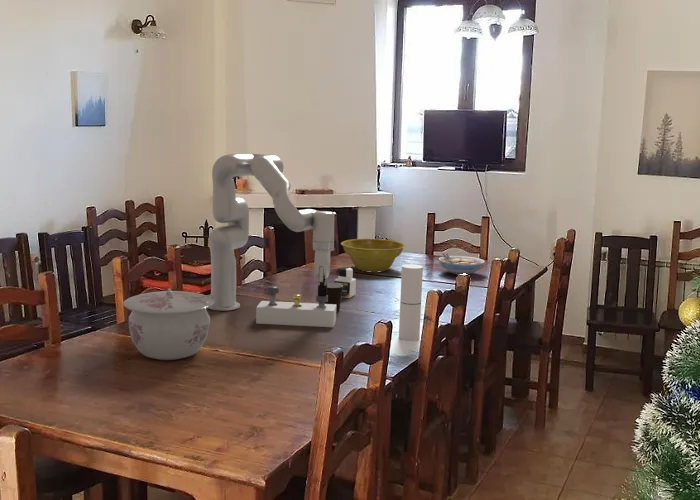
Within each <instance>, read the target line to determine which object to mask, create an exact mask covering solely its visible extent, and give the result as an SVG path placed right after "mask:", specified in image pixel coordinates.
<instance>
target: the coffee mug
mask: <svg viewBox="0 0 700 500" xmlns="http://www.w3.org/2000/svg"><path fill="white" fill-rule="evenodd" d="M326 285H327V295H328V302H325V304H336V313H338V312H339V313H340V309H341V302H342V297H341V296H342V290H343V285H342V284H337V283H334V282H327V284H326Z"/></svg>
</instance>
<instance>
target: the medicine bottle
mask: <svg viewBox="0 0 700 500" xmlns="http://www.w3.org/2000/svg"><path fill="white" fill-rule="evenodd" d="M353 271H354V270H353V268H351V267H343V266H342V267H340V268H339V269H338V271H337V272H338V273H337V275H338V276H337V277H338V278H335V279H334V282H333V283H337V284H342V285H343V290H342V296H341V298H343V299H344V298H346V299H350V298H352V297H354V296H356V293H357V292H356V288H357V279H356V278H354V277H353V275H354V274H353V273H354V272H353Z"/></svg>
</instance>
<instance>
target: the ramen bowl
mask: <svg viewBox="0 0 700 500" xmlns="http://www.w3.org/2000/svg"><path fill="white" fill-rule="evenodd" d="M442 255H443V256H440V257H439V258H438V262H439V263H440V265H441V267H442V268H443V269H445V271H447V272H449V273H452V274H453V273H454V274H463V273H466V274H469V275H471V274H474V273H476V272H478V271H479V270H480V269H482V268H483V266H484V264H485V262H486V261H485V260H484V259H482V258H478V257H474V256H464V255H449V254H448V253H446V254H445V253H442ZM454 274H453V275H454Z"/></svg>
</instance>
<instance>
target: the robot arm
mask: <svg viewBox="0 0 700 500" xmlns="http://www.w3.org/2000/svg"><path fill="white" fill-rule="evenodd" d="M284 167H285V166H284V163H283V161H282V159H281V158H280V157H278V156H277V155H275V154H263V153H262V154H260V153H249V152H247V153H246V152H243V153H228V154H224V155H222V156H220V157H219V158H217V159H216V160H215V162H214V164H213V165H212V170H211V178H212V216H213V219H214V221H216V222H217V223H220V224H227V225H223V226H218V227H216V228H214V229H213V230H212V231H211V232H210V234H209V236H208V245H209V246H208V247H209V251H210V268H211V269H210V287H211V288H210V295H208V296H209V297H211V298H213V299H214V301H215V303H214V304H213V305H212V306H211V307H209V308H208V310H213V311H219V312H220V311H223V312H224V311H225V312H226V311H234V310H238V309H239V308H240V307H241V304H240V302H238V301H237V259H236V256H235V253H234V250H237V249H240V248H243V247H244V246H246V244H247V242H248V240H249V234H250V232H249V230H250V210H249V209H250V208H249V206H248V203H247V201H246V200H245V199H244V198H242V197H240V196H236V184H235V181H234V180H233V178H236V177H246V176H247V177H249V176H254V177H255V179H256V180H257V181H258V182H259V184H260V185H261V186H262V187H263V188H264V190H265V191H266V192H267V193H268V195H269V196H270V197H271V199H272V204H273V207H274V211H275V213H276V215H277V216H278V218H279V219H280V220H281V221H282V223H283V224H284V225H285V226H286V227H287V228H288V229H289V230H291V231H293V232H296V233H299V232H305V231H310V230H312V250H313V251H315V253H314V264H313V265H314V268H313V278H314V279H316V278H318V279H317V281H318V283H317V284H318V285H317V295H318V296H327V285H326V284H327V283H328V277H329V275H330V270H331V252H332V251H335V214H334V212H332V211H327V210H316V209H312V208H306V209H305V208H304V209H298V208H297V207H296V206H295V204H293V202H292V200H291V198H290V197H289V196H290V195H289V191H290V189H291V187H292V186H291V182H290V181H289V180H288V179H287V177H286V176H285V175H284V174H283V172H284Z"/></svg>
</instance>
